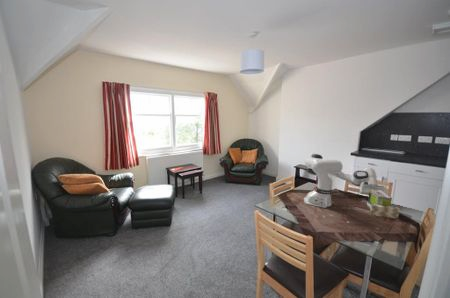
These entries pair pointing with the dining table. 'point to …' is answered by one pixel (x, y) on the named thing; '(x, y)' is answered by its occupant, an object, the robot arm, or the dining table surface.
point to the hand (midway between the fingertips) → (374, 199)
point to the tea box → (378, 198)
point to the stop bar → (384, 211)
